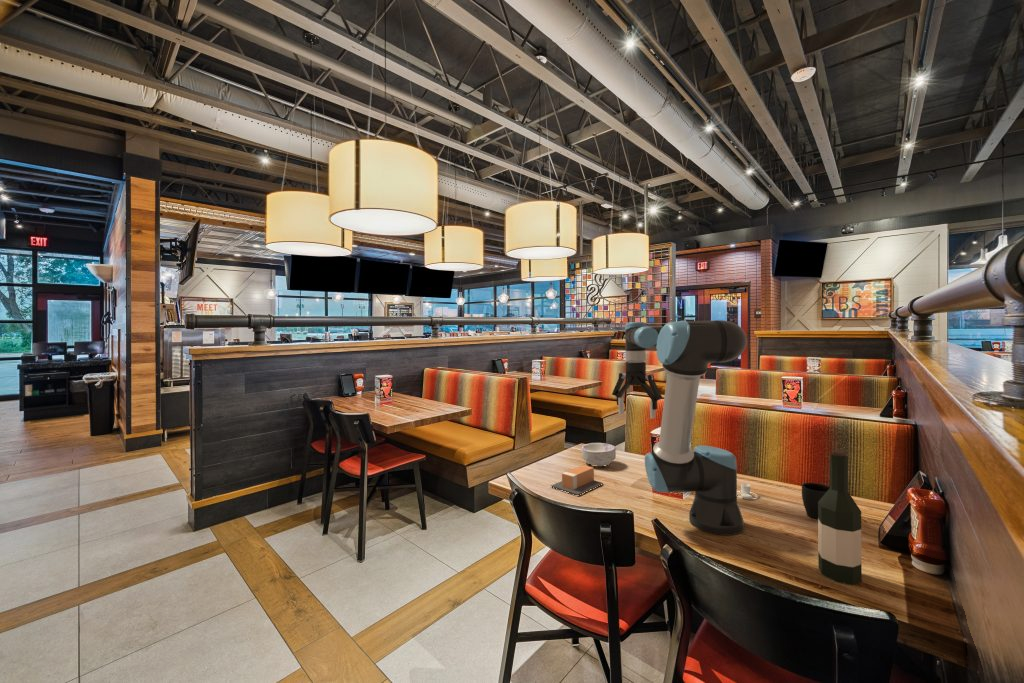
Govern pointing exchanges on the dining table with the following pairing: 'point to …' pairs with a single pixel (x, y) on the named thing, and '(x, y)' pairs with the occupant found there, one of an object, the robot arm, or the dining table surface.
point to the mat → (579, 489)
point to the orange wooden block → (577, 477)
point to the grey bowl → (598, 453)
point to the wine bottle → (839, 527)
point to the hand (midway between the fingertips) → (636, 415)
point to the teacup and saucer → (746, 492)
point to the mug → (813, 497)
